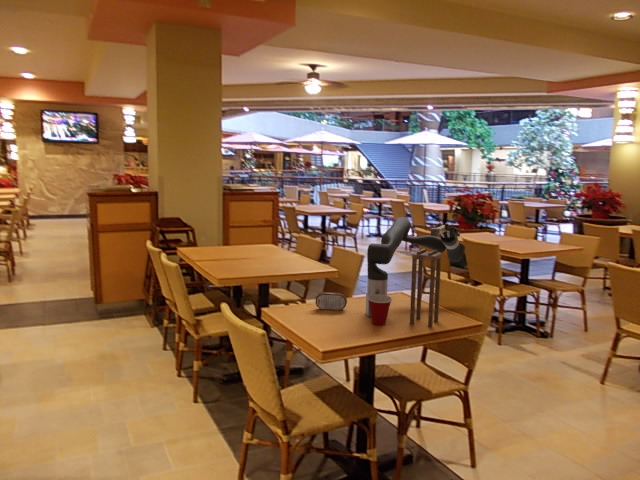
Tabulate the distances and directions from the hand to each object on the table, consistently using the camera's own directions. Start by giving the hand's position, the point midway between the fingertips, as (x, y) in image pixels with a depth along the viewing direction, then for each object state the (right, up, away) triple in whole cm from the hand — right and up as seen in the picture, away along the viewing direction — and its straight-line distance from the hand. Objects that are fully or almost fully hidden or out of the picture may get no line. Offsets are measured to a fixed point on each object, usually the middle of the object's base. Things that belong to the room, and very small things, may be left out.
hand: (442, 225), depth 248 cm
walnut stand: (-11, -44, -14) cm, 47 cm away
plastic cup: (-32, -44, -17) cm, 57 cm away
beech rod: (-2, -4, -3) cm, 5 cm away
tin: (-52, -41, +5) cm, 66 cm away
